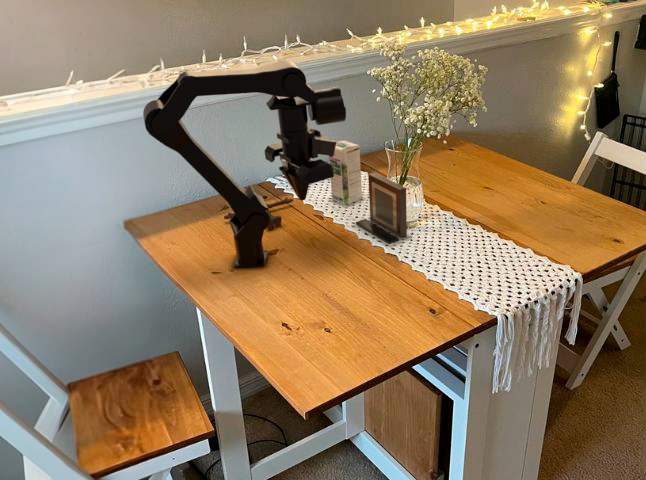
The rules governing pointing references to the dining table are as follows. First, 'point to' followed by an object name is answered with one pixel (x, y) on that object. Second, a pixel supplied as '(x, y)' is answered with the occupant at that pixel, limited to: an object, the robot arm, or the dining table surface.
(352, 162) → the syrup box
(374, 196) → the picture frame
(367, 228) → the frame stand
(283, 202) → the brown spindly part
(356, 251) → the dining table surface
